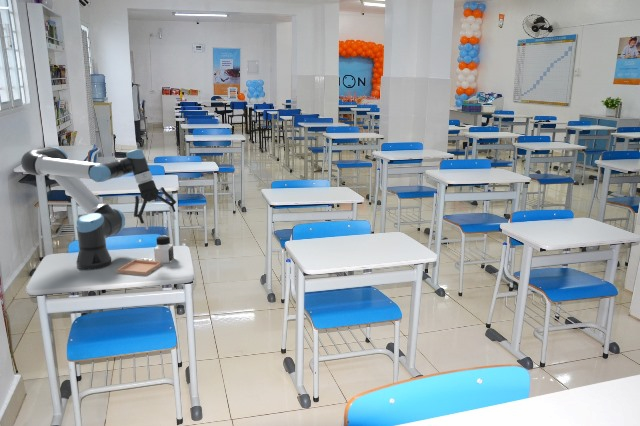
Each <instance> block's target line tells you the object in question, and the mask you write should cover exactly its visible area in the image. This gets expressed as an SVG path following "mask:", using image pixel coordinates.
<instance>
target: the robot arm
mask: <svg viewBox="0 0 640 426" xmlns="http://www.w3.org/2000/svg"><path fill="white" fill-rule="evenodd" d="M125 155H126V157H124V158H121V159H117V160H114V161H110V162H103V163H99V162H93V161H83V160H82V161H81V160H72V159H68V154H67V153H66V152H65V151H64V150H63V149H62V148H59V147H57V146H56V147H55V146H47V147H45V148H38V149H32V150H28V151H26V152H25V153H24V154H23V155H22V157H21V158H20V159H21V160H20V164H21V167H22V169H23V170H24V171H25V172H26V173H28V174H29V175H32V176H43V177H44V176H46V178H48V179H49V180H54V181H56V183H57V184H59V186H60V187H61V188H63V190H64V191H65V192H66V193H67V194H68V195H69V196H70V198H72V200H73V201H74V202H76V203H77V205H78V206H79V207H80V209H82V210H83V211H84V212H85V213H86V214H83V215H81V216H79V217H78V218H77V220H76V231H77V240H78V242H77V243H78V248H79V249H78V254H77V258H76V268H77V269H80V270H85V271H86V270H98V269H99V270H100V269H103V268H106V267H108V266H110V265H111V264H112V256H111V255H110V253H109V250H108V248H107V241H106V239H107V238H109V237H112V236H113V235H117V234H118V233H120V232H121V231H123V229H125V225H126V217H125V215H124V213H123V212H122V211H121V210H119V209H118V208H117V209H116V208H112V207H111V206H110V205H109V204H108V203H103V202H102V201H101V200H100V199H99V198H98V197H97V196H96V195H95V193H93V191H92V190H90V189H89V187H88V185H86V184H85V183H84V182H83V181H82V180H81V179H88V180H93V181H94V182H96V183H100V182H101V183H103V182H106V181H108V180H109V181H110V180H112V179H117V178H121V177H123V176H125V175H128V174H133V176H134V179H135V182H136V184H138V185H137V187H138V190H139V192H140V194H139V195H135V196H134V199H135V200H134V201H135V203H134V209H133V210H134V212H133V217H134V218H138V220H139V221H140V223H141V224H143V226H144V228H145V230H149V227H148V225H147V221H146V218H145V216H144V211H145V207H146V206H147V203H148V202H149V203H150V202H151V201H156V199H158V200H160V201H161V202H163V203H165V204H166V205H168V209H169V211H170V214H171V217H172V219H173V220H177V218H176V215H175V212H176V209H175V206H174V205H176V204H177V200H175V199H174V198H173V197H172V196H171V195H170V194H169V193H168V192H167V191H166V189H165V188H164V187H162V186H161V187H160V188H157V186H156V183H155V181H154V180H153V175H152V172H151V170H150V168H149V165H148V162H147V159H146V156H145V154H144V152H143V149H142V148H138V149H137V148H136V149H134V150H133V149H132V150H130V151H127V152H126V153H125ZM160 193H162V194H163V195H164V196H165V197H166V198H167V199H165V198H164V197H162V196H161V195H160ZM141 199H143V201H142V204H141V206H140V209H139V204H140V200H141Z"/></svg>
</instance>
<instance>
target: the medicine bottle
mask: <svg viewBox="0 0 640 426" xmlns="http://www.w3.org/2000/svg"><path fill="white" fill-rule="evenodd" d="M153 253H154V254H153V255H154V261H156V262H162V264H169V263H171V262H172V261H173V259H175V257H174V256H175V255H174V244H171V238H170V236H168V235H160V236H158V237H156V246H155V248H154V249H153Z"/></svg>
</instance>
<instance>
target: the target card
mask: <svg viewBox="0 0 640 426" xmlns="http://www.w3.org/2000/svg"><path fill="white" fill-rule="evenodd" d="M153 259H154V258H145V257H144V258H143V257H141V258H139V259H138V260H145V261H153Z"/></svg>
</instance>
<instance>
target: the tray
mask: <svg viewBox="0 0 640 426" xmlns="http://www.w3.org/2000/svg"><path fill="white" fill-rule="evenodd" d="M162 264H163V263H162V262H156V261H155V260H154V261H153V260H152V261H145V260H139V259H133V260H131V261H129V262H128V263H125V264H124V265H122V266H121V267H119V268H117V269H116V273H117V274H124V275H125V274H127V275H137V276H147V275H149V274H150V273H152V272H153V271H155V270H157V269H158V268H160V267H161V266H162Z"/></svg>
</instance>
